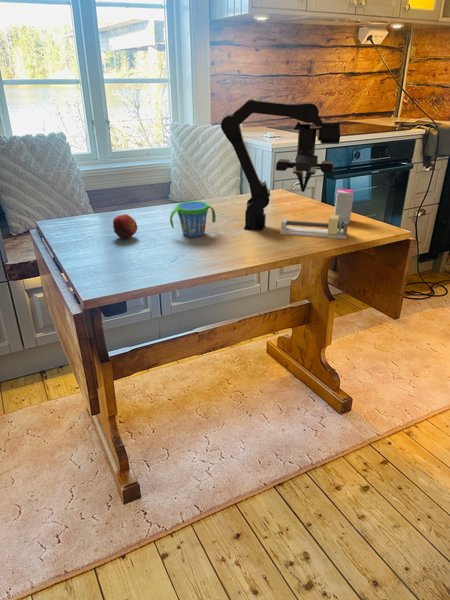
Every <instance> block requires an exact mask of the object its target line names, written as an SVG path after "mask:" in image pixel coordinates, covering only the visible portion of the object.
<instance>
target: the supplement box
mask: <svg viewBox="0 0 450 600" xmlns="http://www.w3.org/2000/svg"><path fill="white" fill-rule="evenodd" d="M354 193H355V192H354V190H353V189H347V188H337V189H336V196H335V198H336V199H335V205H334V211H333V212H334V213H333V215H337V216H339V218H338V224H339V222H342V224H344V221H348V225H349V224H350V222H351V221H350V220H351V215H352V209H353V200H354Z"/></svg>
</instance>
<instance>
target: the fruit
mask: <svg viewBox="0 0 450 600" xmlns="http://www.w3.org/2000/svg"><path fill="white" fill-rule="evenodd" d="M112 222H113V223H112V225H113V232H114V233H115V234H116V235H117V236H118V238H120V239H123V240H126V239H130V238H131V237H133V236H134V235H135V234H136V233H137V231H138V225H137V222H136V220H135V218H133V217H132V216H131V215H129V214H126V213H124V214H119V215H117V216H115V217H114V218H113V221H112Z"/></svg>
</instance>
